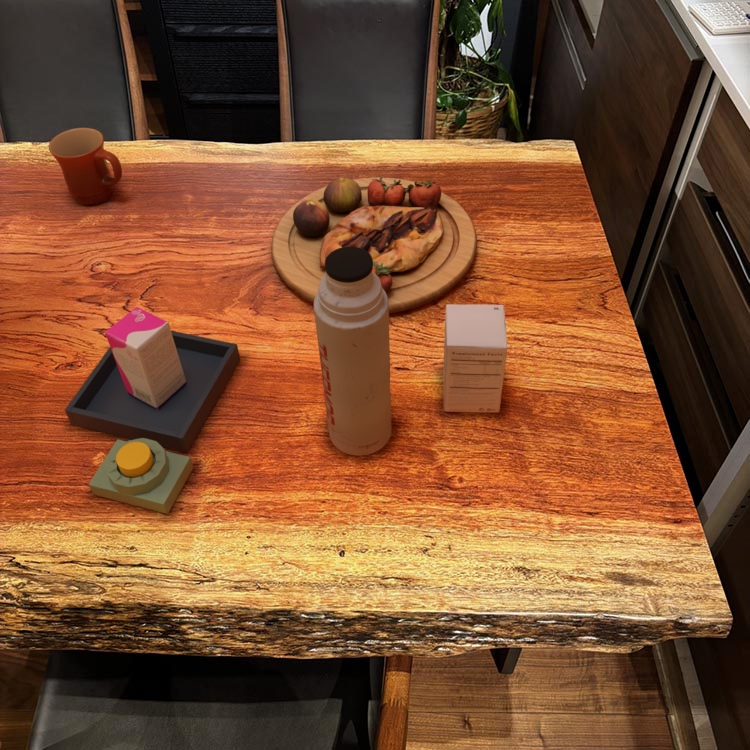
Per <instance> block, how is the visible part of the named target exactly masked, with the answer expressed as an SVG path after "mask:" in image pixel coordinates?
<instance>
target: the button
mask: <svg viewBox="0 0 750 750" xmlns="http://www.w3.org/2000/svg"><path fill="white" fill-rule="evenodd" d="M116 462H117V465H118V467H119V469H120V471H121V473H122V474H123V475H125V476H127V477H132V478H134V477H140V476H142V475H144V474H146V473H147V472H148V471H149V470H150V469H151V468H152V466H153V462H154V459H153V456H152V453H151V451H150V448H149V447H148V446H147V445H146V444H144V443H142V442H131V443H128V444H126V445H124V446H123V447H122V448H121V449H120V450H119V451H118V453H117V455H116Z"/></svg>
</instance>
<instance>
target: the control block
mask: <svg viewBox="0 0 750 750" xmlns="http://www.w3.org/2000/svg"><path fill="white" fill-rule="evenodd" d="M131 442H142V443H144V444H146V445H147V446H148V447H149V448H150V451H151V453H152V456H153V459H154V462H153V466H152V468H151V469H150V470H149V471H148V472H147V473H146V474H144V475H142V476H140V477H134V478H132V477H127V476H125V475H123V474H122V473H121V471H120V469H119V467H118V465H117V462H116V455H117V453H118V451H119V450H120V449H121V448H122V447H123V446H124V445H126V444H128V443H131ZM193 469H194V464H193V461H192V459H191V457H190V456H187V455H183V454H179V453H174V452H171V451H167V450H166V449H165V448H164V447H162V446H161V445H160V444H159V443H158V442H157V441H154V440H150V439H146V438H140V439H135V440H131V439H128V440H127V441H125V440H122V439H119V438H118V439H117V438H116V441H115V442H114V444H113V445H112V447H111V449H110V450H109V452H108V453H107V455H106V456H105V458H104V459H103V461H102V462H101V464H100V465H99V467H98V468H97V470H96V471H95V473H94V475H93V476H92V478H91V479H90V481H89V483H88V487H89V488H90V491H91V492H92V494H93V496H98V497H102V498H106V499H109V500H113V501H117V502H120V503H125V504H129V505H132V506H135V507H139V508H144V509H147V510H151V511H154V512H158V513H161V514H166V515H169V514H170V512H171V509H172V508H173V506H174V504H175V502H176V501H177V499H178V497H179V495H180V493H181V491H182V490H183V488H184V486H185V484H186V482H187V480H188V478H189V477H190V475H191V473H192V471H193Z"/></svg>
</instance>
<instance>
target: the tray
mask: <svg viewBox="0 0 750 750" xmlns="http://www.w3.org/2000/svg"><path fill="white" fill-rule="evenodd" d="M171 333H172V336H173V339H174V343H175V346H176V349H177V353H178V356H179V359H180V362H181V366H182V369H183V372H184V376H185V379H186V382H187V384H186V385H185V386H184V387H183V388H182V389H181V390H180V391H179V392H178V393H177V394H175V395H174V396H173V397H172V398H171V399H170V400H169V401H168V402H167V403H166V404H165V405H164V406H163V407H162V408H160V409H159V410H158V411H157V410H155V409H154V408H152V407H150V406H148V405H147V404H145V403H143V402H141V401H139V400H138V399H136V398H134V397H132V396H131V395H129V394H128V392H127V390H126V387H125V384H124V381H123V379H122V376H121V374H120V371H119V368H118V366H117V363H116V361H115V358H114V355H113V353H112V350H111V347H110V346H109V347H108V348H107V350H106V351H105V353H104V354H103V355H102V356H101V358H100V360H98V363H97V364H96V365H95V367H94V368H93V369H92V371H91V372H90V373H89V375H88V377H86V379H85V381H84V382H83V384H81V385H80V387H79V389H78V391H77V392H76V393H75V394H74V396H73V397H72V399H71V400H70V401H69V403H68V404H67V406H66V407H65V409H64V412H65V414H66V416H67V418H68V420H69V422H70V424H71V426H74V427H79V428H82V429H87V430H91V431H95V432H99V433H102V434H107V435H110V436H115V437H119V438H123V439H128V440H135V439H140V438H146V439H150V440H154V441H157V442H158V443H159V444H160V445H161V446H162V447H163V449H168V450H172V451H177V452H180V453H185V454H189V451H190V449H191V448H192V446H193V444H194V443H195V441H196V439H197V438H198V436H199V434H200V432H201V431H202V428H203V427H204V426H205V423H206V421H207V419H208V418H209V416H210V414H211V413H212V411H213V409H214V408H215V406H216V404H217V402H218V401H219V398H220V397H221V395H222V393H223V391H224V390H225V388H226V386H227V385H228V382H229V381H230V379H231V377H232V376H233V374H234V372H235V370H236V368H237V366H238V365H239V363H240V362H241V356H240V355H241V354H240V351H239V347H238V344H237V343H233V342H228V341H223V340H218V339H215V338H214V339H213V338H209V337H206V336H205V337H204V336H199V335H195V334H189V333H186V332H180V331H175V330H171Z"/></svg>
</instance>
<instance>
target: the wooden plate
mask: <svg viewBox="0 0 750 750" xmlns="http://www.w3.org/2000/svg"><path fill="white" fill-rule="evenodd" d="M270 246H271V247H270V250H271V251H270V252H271V253H270V254H271V259H272V263H273V266H274V269H275V271H276V272H277V275H278V276H279V277H280V278H281V280H282V281H283V282H284V283H285V285H286V286H287V287H288V288H290V290H292V291H293V292H294V293H295V294H297V295H298V296H300V297H301V298H303V299H305V300H306V301H308V302H311V303H313V304H314V299H315V297H316V295H317V293H318V288H319V283H320V281H321V279H322V278H323V276H324V275H325V273H326V270H325V259H326V257H327V256H328V255H329V254H330V253H331V252H332V251H334V250H336V249H338V248H342V247H358V248H361V249H364V250H366V251H367V252H368V253H369V254H370V255H371V257H372V259H373V269H372V272H374V273H375V274H376V275H377V276H378V277H379V279H380V282H381V286H382V288H383V289H384V291H385V292H386V294H387V297H388V304H389V314H394V313H398V312H399V313H400V312H404V311H407V310H411V309H415V308H418V307H420V306H423V305H425V304H429V303H430V302H433V301H435V300H437V299H438V298H440V297H442V296H443V295H445V294H447V293H448V292H449V291H450V290H452V289H453V288H454V287H456V286H457V285H458V284H459V283H460V282H461V281H462V280H463V279H464V278H465V276H466V275H467V274H468V272H469V271H470V269H471V267H472V265H473V264H474V261H475V258H476V254H477V250H478V249H477V248H478V236H477V230H476V227H475V225H474V222H473V221H472V218H471V217H470V215H469V214H468V212H467V211H466V210H465V209H464V208H463V207H462V205H460V203H459V202H457V201H456V200H455V199H453V198H452V197H450V196H449V195H447V194H446V193H444V192H442V189H441V186H440V185H439V184H437V183H436V181H432V179H431V178H429V179H428V180H427V183H426V182H418V181H414V180H413V181H412V180H408V179H401V178H394V177H380V176H379V177H378V176H377V177H360V178H354V179H353V178H350V177H347V176H340V177H338V178H336V179H334V180H333V181H331V182H329V183H328V184H327V185H326V186H324V187H321V188H319V189H317V190H315V191H313V192H311V193H309V194H307V195H306V196H304V197H302V198H301V199H299V201H297V202H296V203H294V204H293V205H292V206H291V207H289V209H288V210H287V211H286V212H285V214H284V215H283V216H282V217H281V219H280V220H279V222H278V224H277V225H276V227H275V229H274V231H273V234H272V240H271V245H270Z"/></svg>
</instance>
